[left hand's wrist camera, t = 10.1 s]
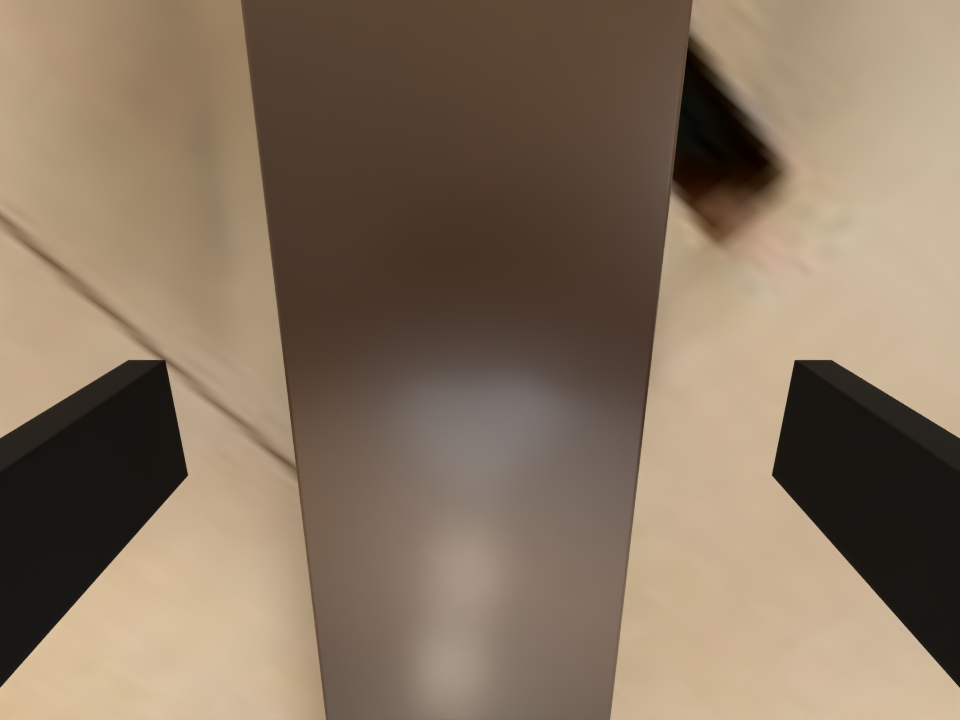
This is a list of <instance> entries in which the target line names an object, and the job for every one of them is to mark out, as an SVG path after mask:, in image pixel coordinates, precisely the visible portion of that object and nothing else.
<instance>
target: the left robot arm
mask: <svg viewBox="0 0 960 720" xmlns="http://www.w3.org/2000/svg"><path fill="white" fill-rule="evenodd" d="M187 476H188V473H187V468H186V463H185V457H184V452H183V447H182V442H181V437H180V432H179V427H178V422H177V417H176V412H175V407H174V402H173V397H172V392H171V387H170V382H169V377H168V372H167V367H166V362H165V360H128V361H126V362H125V363H123V364H121V365H120V366H118V367H116V368H115V369H113V370H111V371H110V372H108V373H107V374H105V375H103V376H102V377H100V378H98V379H97V380H95V381H93V382H92V383H90V384H89V385H87V386H85V387H84V388H82V389H80V390H79V391H77V392H75V393H74V394H72V395H71V396H69V397H67V398H66V399H64V400H62V401H61V402H59V403H57V404H56V405H54V406H53V407H51V408H49V409H48V410H46V411H44V412H43V413H41V414H39V415H38V416H36V417H35V418H33V419H31V420H30V421H28V422H26V423H25V424H23V425H21V426H20V427H18V428H17V429H15V430H13V431H12V432H10V433H8V434H7V435H5V436H3V437H2V438H0V687H1V686H2V685H3V684H4V683H5V682H6V681H7V679H8V678H9V677H10V676H11V675H12V674H13V673H14V671H15V670H16V669H17V668H18V667H19V666H20V665H21V664H22V662H23V661H24V660H25V659H26V658H27V657H28V656H29V655H30V653H31V652H32V651H33V650H34V649H35V648H36V647H37V645H38V644H39V643H40V642H41V641H42V640H43V639H44V638H45V636H46V635H47V634H48V633H49V632H50V631H51V630H52V629H53V627H54V626H55V625H56V624H57V623H58V622H59V621H60V619H61V618H62V617H63V616H64V615H65V614H66V613H67V612H68V610H69V609H70V608H71V607H72V606H73V605H74V604H75V603H76V601H77V600H78V599H79V598H80V597H81V596H82V595H83V594H84V592H85V591H86V590H87V589H88V588H89V587H90V586H91V584H92V583H93V582H94V581H95V580H96V579H97V578H98V577H99V575H100V574H101V573H102V572H103V571H104V570H105V569H106V568H107V566H108V565H109V564H110V563H111V562H112V561H113V560H114V558H115V557H116V556H117V555H118V554H119V553H120V552H121V551H122V549H123V548H124V547H125V546H126V545H127V544H128V543H129V542H130V540H131V539H132V538H133V537H134V536H135V535H136V534H137V532H138V531H139V530H140V529H141V528H142V527H143V526H144V525H145V523H146V522H147V521H148V520H149V519H150V518H151V517H152V516H153V514H154V513H155V512H156V511H157V510H158V509H159V508H160V506H161V505H162V504H163V503H164V502H165V501H166V500H167V499H168V497H169V496H170V495H171V494H172V493H173V492H174V491H175V490H176V488H177V487H178V486H179V485H180V484H181V483H182V482H183V481H184V479H185V478H186V477H187ZM772 476H773V477H774V478H775V479H776V481H777V482H778V483H779V484H780V485H781V486H782V487H783V488H784V490H785V491H786V492H787V493H788V494H789V495H790V496H791V497H792V499H793V500H794V501H795V502H796V503H797V504H798V505H799V506H800V508H801V509H802V510H803V511H804V512H805V513H806V514H807V516H808V517H809V518H810V519H811V520H812V521H813V522H814V523H815V525H816V526H817V527H818V528H819V529H820V530H821V531H822V532H823V534H824V535H825V536H826V537H827V538H828V539H829V540H830V542H831V543H832V544H833V545H834V546H835V547H836V548H837V549H838V551H839V552H840V553H841V554H842V555H843V556H844V557H845V558H846V560H847V561H848V562H849V563H850V564H851V565H852V566H853V568H854V569H855V570H856V571H857V572H858V573H859V574H860V575H861V577H862V578H863V579H864V580H865V581H866V582H867V583H868V584H869V586H870V587H871V588H872V589H873V590H874V591H875V592H876V594H877V595H878V596H879V597H880V598H881V599H882V600H883V601H884V603H885V604H886V605H887V606H888V607H889V608H890V609H891V610H892V612H893V613H894V614H895V615H896V616H897V617H898V618H899V619H900V621H901V622H902V623H903V624H904V625H905V626H906V627H907V629H908V630H909V631H910V632H911V633H912V634H913V635H914V636H915V638H916V639H917V640H918V641H919V642H920V643H921V644H922V645H923V647H924V648H925V649H926V650H927V651H928V652H929V653H930V655H931V656H932V657H933V658H934V659H935V660H936V661H937V662H938V664H939V665H940V666H941V667H942V668H943V669H944V670H945V671H946V673H947V674H948V675H949V676H950V677H951V678H952V679H953V681H954V682H955V683H956V684H957V685H958V686H959V687H960V438H958V437H957V436H955V435H953V434H952V433H950V432H948V431H947V430H945V429H944V428H942V427H940V426H939V425H937V424H935V423H934V422H932V421H930V420H929V419H927V418H925V417H924V416H922V415H921V414H919V413H917V412H916V411H914V410H912V409H911V408H909V407H907V406H906V405H904V404H903V403H901V402H899V401H898V400H896V399H894V398H893V397H891V396H889V395H888V394H886V393H885V392H883V391H881V390H880V389H878V388H876V387H875V386H873V385H871V384H870V383H868V382H867V381H865V380H863V379H862V378H860V377H858V376H857V375H855V374H853V373H852V372H850V371H849V370H847V369H845V368H844V367H842V366H840V365H839V364H837V363H835V362H834V361H832V360H795V362H794V367H793V372H792V377H791V382H790V387H789V392H788V397H787V402H786V407H785V412H784V417H783V422H782V427H781V432H780V437H779V442H778V447H777V452H776V457H775V463H774V468H773V473H772Z"/></svg>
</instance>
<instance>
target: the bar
mask: <svg viewBox="0 0 960 720" xmlns="http://www.w3.org/2000/svg"><path fill="white" fill-rule="evenodd" d="M241 4H242V12H243V21H244V29H245V38H246V46H247V55H248V63H249V72H250V80H251V89H252V97H253V105H254V114H255V122H256V131H257V139H258V148H259V156H260V165H261V173H262V182H263V190H264V198H265V207H266V215H267V224H268V232H269V241H270V249H271V258H272V266H273V275H274V283H275V291H276V300H277V308H278V317H279V325H280V334H281V342H282V351H283V359H284V368H285V376H286V384H287V393H288V401H289V410H290V418H291V427H292V435H293V444H294V452H295V461H296V469H297V477H298V486H299V494H300V503H301V511H302V520H303V528H304V537H305V545H306V554H307V562H308V570H309V579H310V587H311V596H312V604H313V613H314V621H315V630H316V638H317V647H318V655H319V663H320V672H321V680H322V689H323V697H324V706H325V714H326V720H610V716H611V707H612V699H613V690H614V681H615V672H616V664H617V655H618V646H619V638H620V629H621V620H622V611H623V603H624V594H625V585H626V577H627V568H628V559H629V550H630V542H631V533H632V524H633V516H634V507H635V498H636V489H637V481H638V472H639V463H640V455H641V446H642V437H643V428H644V420H645V411H646V402H647V394H648V385H649V376H650V367H651V359H652V350H653V341H654V333H655V324H656V315H657V307H658V298H659V289H660V280H661V272H662V263H663V254H664V246H665V237H666V228H667V219H668V211H669V202H670V193H671V185H672V176H673V167H674V158H675V150H676V141H677V132H678V124H679V115H680V106H681V97H682V89H683V80H684V71H685V63H686V54H687V45H688V36H689V28H690V19H691V10H692V0H241Z"/></svg>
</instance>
